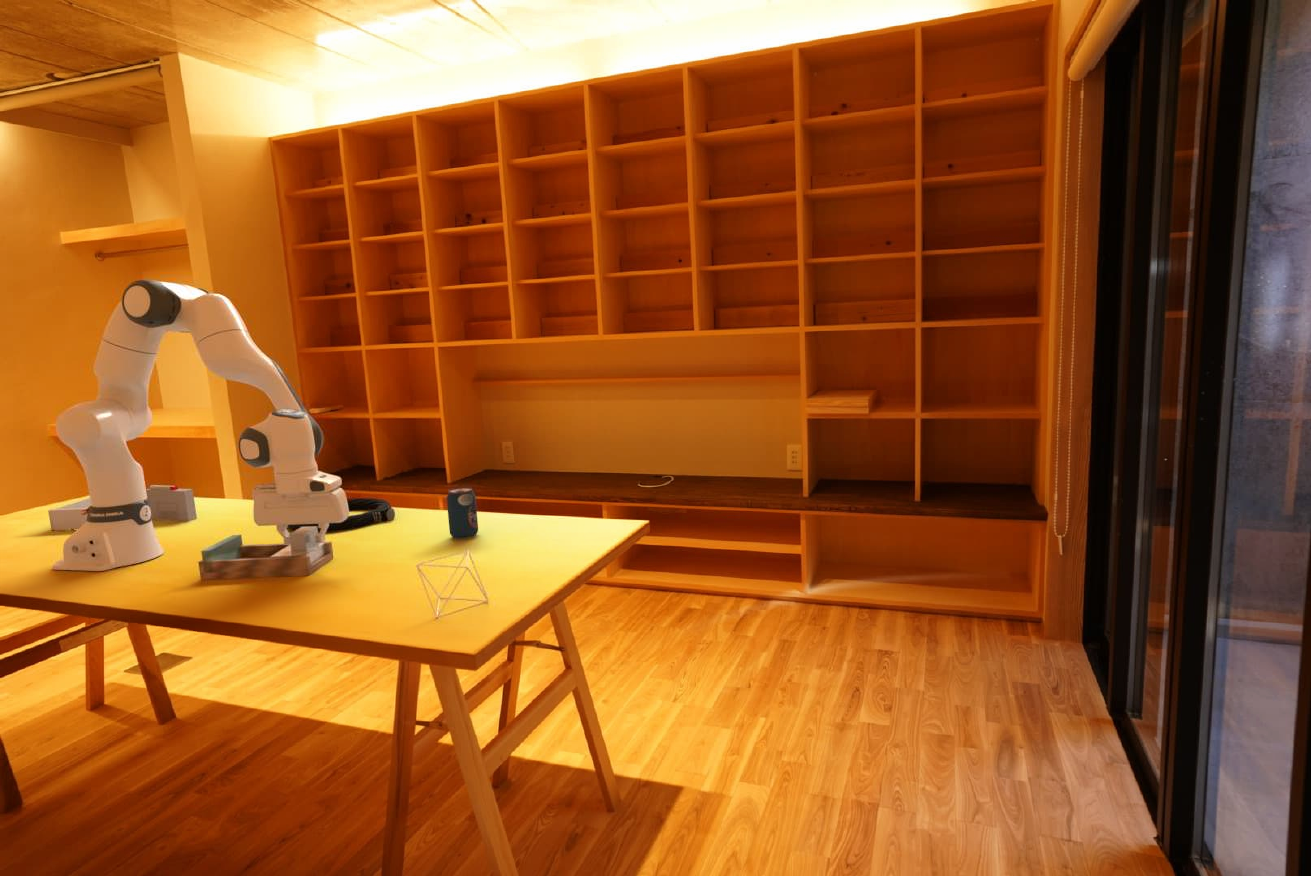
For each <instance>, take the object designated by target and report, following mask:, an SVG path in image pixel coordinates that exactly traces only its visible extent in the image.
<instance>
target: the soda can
mask: <svg viewBox="0 0 1311 876" xmlns="http://www.w3.org/2000/svg"><path fill="white" fill-rule="evenodd" d="M476 499H477V498H476V494H475V492H474V491H473V488H472V487H470V486H459V487H454V488H451V489H449V490H448V494H447V495H446V503H447V505H446V506H447V516H448V518H447V519H448V527H449V529H448V531H449V534H450V536H451V537H452V539H454V540H458V541H459V540H469V539H472V538H475V537H476V536H477V534H478V532H479V523H478V512H477V500H476Z"/></svg>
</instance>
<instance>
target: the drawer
mask: <svg viewBox="0 0 1311 876" xmlns="http://www.w3.org/2000/svg"><path fill="white" fill-rule="evenodd" d="M323 543H325V550H326V554H325V555H323V556H322V557H320V558H319V559H317V560H316V561H315V562H313V563H312V564H310V556H299V557H274V558H270V557H271V556H272V555H274V554H276V553H277V552H279V551H281V550H282V549H284V548H286V547H287V546H289V545H290V544H284V542H283V543H267V544H264V543H262V544H261V543H260V544H243V538H242V534H233V535H230V536H228V537H226V538H224V539H223V540H220V541H218V542H216V543H214V544H212V545H210V546H208V547H206V548H203V549H202V550H201V551H200V553H201V558H202V560H199V561H198V562H197V563H198V568H199V575H200V576H199V577H200V581H201V580H203V581H204V580H223V579H224V580H226V579H229V580H231V579H253V578H255V579H256V578H275V577H276V578H277V577H279V578H281V577H301V576H302V577H303V576H304V577H305V576H307V577H308V576H311V575H312V574H314V573H315V572H316V571H318V570H319V569H320V568H322V567H323V566H325V564H328V562H330V561H331V560H333V559H334V552H333V543H332V541H325V542H323Z"/></svg>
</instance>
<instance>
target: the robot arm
mask: <svg viewBox="0 0 1311 876" xmlns="http://www.w3.org/2000/svg"><path fill="white" fill-rule="evenodd" d="M123 291H124V292H123V293H122V296H121V301H119V302H118V304H117V305H116V307H115V308H114V311H113V312H112V314H111V316H110V317H109V320H108V322H107V324H106V327H105V329H104V332H103V335H102V338H101V342H100V345H99V347H98V351H97V355H96V357H95V360H94V365H93V372H94V374H95V376H96V378H97V382H98V387H97V388H98V389H97V390H98V391H97V395H96V398H95V399H94V400H90V401H84V402H80V403H77V404H75V405H73V406H71V407H69V408H67V409H66V410H63V412H61V413H60V414H59V416H58V417H57V419H56V421H55V432H56V436H57V437H58V439H59V440H60V441H61V443H63V444H64V445H65V446H66V447H68V448H70V449H71V450H72V452H73V453H74V454H75V456H76V458H77V459H78V461H79V463H80V465H81V467H82V469H83V472H84V474H85V477H86V478H85V479H86V483H87V487H88V494H89V498H90V499H91V506H90V507H88V509H85V510H82V511H85V512H84V513H82V514H81V515H85V514H88V515H87V519H86V521H87V522H86V523H85V524H83V525H82V526H81V527H80V528H79V529H78V530H75V531H74V532H73V533H72V534H71V535H69V536H68V537H67V538H66V539H65V541H64V543H63V547H62V548H63V549H62V556H63V558H61V559H59V560H57V561H56V562H55V563H53V564H52V570H53V571H55V570H59V571H60V570H61V571H83V572H84V571H87V572H89V571H91V572H94V571H95V572H102V571H103V572H104V571H109V570H112V569H115V568H116V569H117V568H118V567H124V566H131V565H134V564H139V563H142V562H147V561H150V560H152V559H155V558H157V557H158V558H159V556H160V557H161V556H162V555H163V554H164V553H165V550H164V549H163V548H162V545H161V544H160V541H159V539H158V536H157V534H156V531H155V528H154V527H155V526H154V523H153V519H152V510H151V504H150V499H149V498H148V497H147V493H146V488H147V487H146V482H145V475H144V469H143V466H142V465H141V464H140V463H139V462H138V461H136V460H135V459H134V457H133V456H132V453H131V451H130V449H129V447H128V445H127V442H128V441H132V440H135V439H137V438H139V437H140V436H141V435H143V434H144V433H145V432H146V431H147V430H149V428H150V427H151V425H152V423H153V413H152V411H151V408H150V406H149V388H150V387H149V385H150V380H151V377H152V374H153V370H154V367H155V364H156V360H157V357H158V354H159V350H160V346H161V342H162V339H163V338H164V336H165V334H167V333H168V332H172V333H173V332H174V333H175V332H176V333H177V332H179V333H187V334H188V333H189V334H190V335H191V337H192V338H193V342H194V344H195V346H196V349H197V352H198V354H199V356H200V359H201V361H202V362H203V365H204V366H205V367H206V368H207V369H208V371H210V372H211V373H212V374H214V375H216V376H217V377H219V378H222V379H225V380H227V381H233V382H238V383H242V384H246V385H249V386H252V387H254V388H257V389H259V390H260V391H262V392H263V393H265V395H267V397H268V398H269V400H270V401H271V403H272V405H273V407H274V408H275V410H273V411H271V412H270V413H269V414H268V416H267V418H266V419H265V420H263V421H261V422H259V423H256V424H255V425H252V426H250V427H246V428H245V429H244V430H243V431H242V433H241V434H240V436H239V439H238V452H239V455H240V458H241V459H242V461H244V462H245V463H246V464H247V465H249V466H251V467H253V468H267V467H273V476H274V483H267V484H266V483H260V484H257V485H256V486H254V488H253V489H252V491H251V495H252V501H253V521H254V523H255V524H256V525H257V526H258V527H266V526H267V527H268V526H275V527H276V531H277V532H278V533H279V535H281V537H282V538H283V543H284V544H290V538H289V534H290V532H289V531H288V529H287V528H288V525H296V524H318V526H319V528H321V530H320V532H318V534H317V535H315V539H316V540H315V541H316V543H323V542H326V533H327V532H326V531H327V529H328V527H329V523H341V522H343V521H344V520H346V519H347V517H348V516H350V510H349V508H348V502H347V499H348V498H347V495H346V491H345V490H344V489H343V488H342V487H341V486H342V480H343V479H342V478H341V477H340V476H338V475H334V474H331V473H330V474H329V473H326V472H323V471H320V470H318V469H319V468H318V464H317V461H316V457H317V456H318V455H319V454H320V452H321V450H322V448H323V447H324V446H323V445H324V443H325V442H324V441H325V436H324V432H323V430H322V429H321V427H320V425H319V424H318V422H317V421H316V420H315V419H314V418H313V417H312V416H311V415H310V414H309V412H308V411H307V409H306V408H305V405H304V404H303V402H302V401H301V399H300V398H299V396H298V394H297V392H296V391H295V389H294V388H293V386H292V385H291V383H290V381H289V380H288V378H287V376H286V375H285V374H284V372H283V370H282V368H281V367H280V366H279V364H278V363H277V362H276V361H275V360H273V358H271V357H268V356H267V355H266V354H265V353H264V352H262V350H261V349H260V348H259V347H258V346H257V345H256V343H255V342H254V341H253V339H252V337H251V335H250V333H249V331H248V328H247V326H246V324H245V322H244V320H243V319H242V317H241V315H240V313H239V311H238V310H237V308H236V307H235V306H234V304H233V303H232V301H231V300H230V299H229V298H228V297H226V296H224V295H222V294H220V293H211V291H207V290H206V289H203V288H200V287H199V288H197V287H193V286H190V285H187V284H185V283H184V284H183V283H179V282H169V281H167V282H166V281H160V280H155V279H139V280H135V281H132V282H131V283H129V284H128V285H127V286H126V288H125V289H124V290H123ZM82 511H81V512H82Z"/></svg>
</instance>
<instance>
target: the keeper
mask: <svg viewBox="0 0 1311 876" xmlns="http://www.w3.org/2000/svg"><path fill="white" fill-rule="evenodd" d="M317 534H319V532H318V528H317V526H309V527H301V528H299V529H297V530H296V531H294V530H293V531H292V532H291V533H290V532H289V538H290V545H289V546H287V547H286V548H284V549H282V550H281V551H279V552H277V553H276V554H274V555H272V556H271V557H270V558H274V557H299V556H310V564H312V563H313V562H315V561H316V560H317V559H319V558H320V557H322V556H323V555H325V554H326V550H325V543H316V541H315V540H316V539H315V535H317Z"/></svg>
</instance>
